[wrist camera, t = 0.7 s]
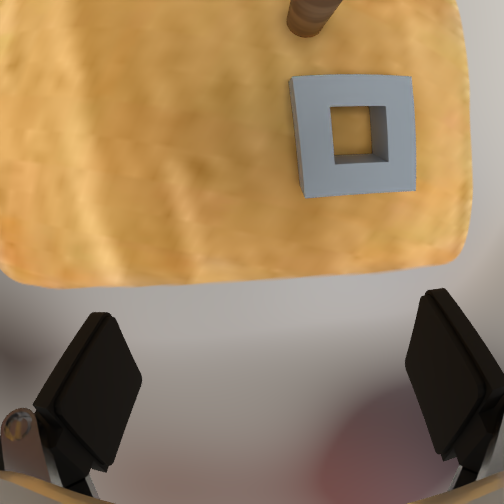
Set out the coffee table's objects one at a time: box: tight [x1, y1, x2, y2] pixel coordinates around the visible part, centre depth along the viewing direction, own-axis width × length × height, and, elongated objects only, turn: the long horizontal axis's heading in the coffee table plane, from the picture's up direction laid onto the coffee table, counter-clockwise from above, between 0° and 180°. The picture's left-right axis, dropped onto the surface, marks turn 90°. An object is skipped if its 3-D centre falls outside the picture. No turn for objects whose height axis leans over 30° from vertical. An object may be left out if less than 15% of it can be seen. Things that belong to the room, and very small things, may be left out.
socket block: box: [289, 74, 416, 198], centre depth 27 cm, size 11×11×5 cm
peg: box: [287, 0, 342, 37], centre depth 19 cm, size 4×4×12 cm
